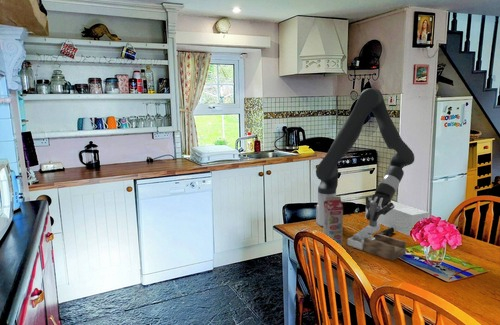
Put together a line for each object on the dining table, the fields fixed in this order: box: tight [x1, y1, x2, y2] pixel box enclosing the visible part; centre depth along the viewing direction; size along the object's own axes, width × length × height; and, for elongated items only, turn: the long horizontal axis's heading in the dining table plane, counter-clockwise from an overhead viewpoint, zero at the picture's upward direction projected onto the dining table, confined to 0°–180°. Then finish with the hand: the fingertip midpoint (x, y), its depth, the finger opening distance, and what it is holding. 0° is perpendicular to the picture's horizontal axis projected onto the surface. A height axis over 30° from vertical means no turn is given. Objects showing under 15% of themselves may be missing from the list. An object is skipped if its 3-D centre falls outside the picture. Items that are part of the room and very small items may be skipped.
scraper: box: [365, 202, 381, 235], centre depth 156 cm, size 3×6×12 cm, turn 129°
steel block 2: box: [358, 226, 375, 240], centre depth 159 cm, size 4×4×4 cm
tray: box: [346, 235, 375, 251], centre depth 162 cm, size 8×10×3 cm
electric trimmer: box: [372, 227, 395, 238], centre depth 172 cm, size 4×16×3 cm, turn 131°
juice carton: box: [322, 196, 344, 247], centre depth 162 cm, size 7×7×22 cm
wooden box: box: [363, 232, 407, 261], centre depth 153 cm, size 14×10×6 cm
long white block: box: [364, 200, 430, 237], centre depth 187 cm, size 32×11×11 cm, turn 23°
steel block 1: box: [353, 232, 364, 243], centre depth 162 cm, size 4×4×4 cm
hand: (370, 219), depth 154 cm, fingers closed on scraper, 2 cm apart
